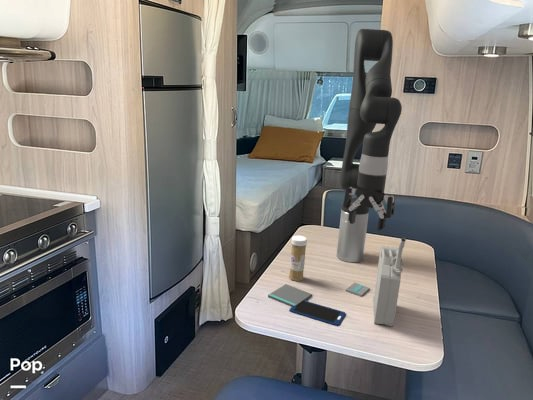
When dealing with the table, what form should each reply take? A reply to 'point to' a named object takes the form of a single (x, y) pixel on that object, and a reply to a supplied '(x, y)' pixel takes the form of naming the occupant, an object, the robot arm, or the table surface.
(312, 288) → the table surface
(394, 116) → the robot arm
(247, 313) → the table surface
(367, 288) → the label tag
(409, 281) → the table surface
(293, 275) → the sprinkles bottle
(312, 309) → the cell phone
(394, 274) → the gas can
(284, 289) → the mat
